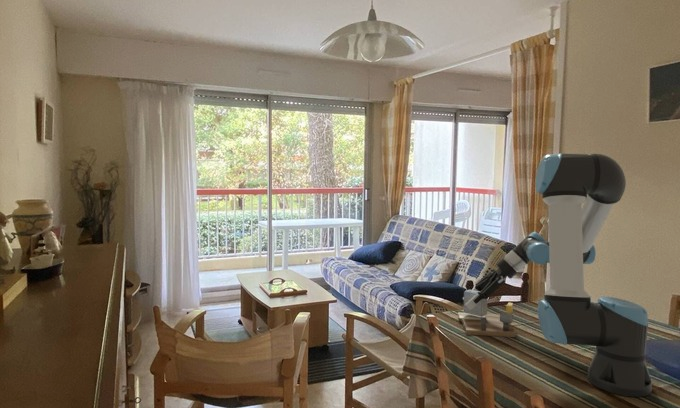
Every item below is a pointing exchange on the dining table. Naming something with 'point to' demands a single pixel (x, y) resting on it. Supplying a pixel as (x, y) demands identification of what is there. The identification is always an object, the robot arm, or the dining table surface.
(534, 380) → the dining table surface
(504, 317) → the latch arm
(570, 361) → the dining table surface
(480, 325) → the lock plate
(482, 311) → the medicine box
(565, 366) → the dining table surface
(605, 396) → the dining table surface
